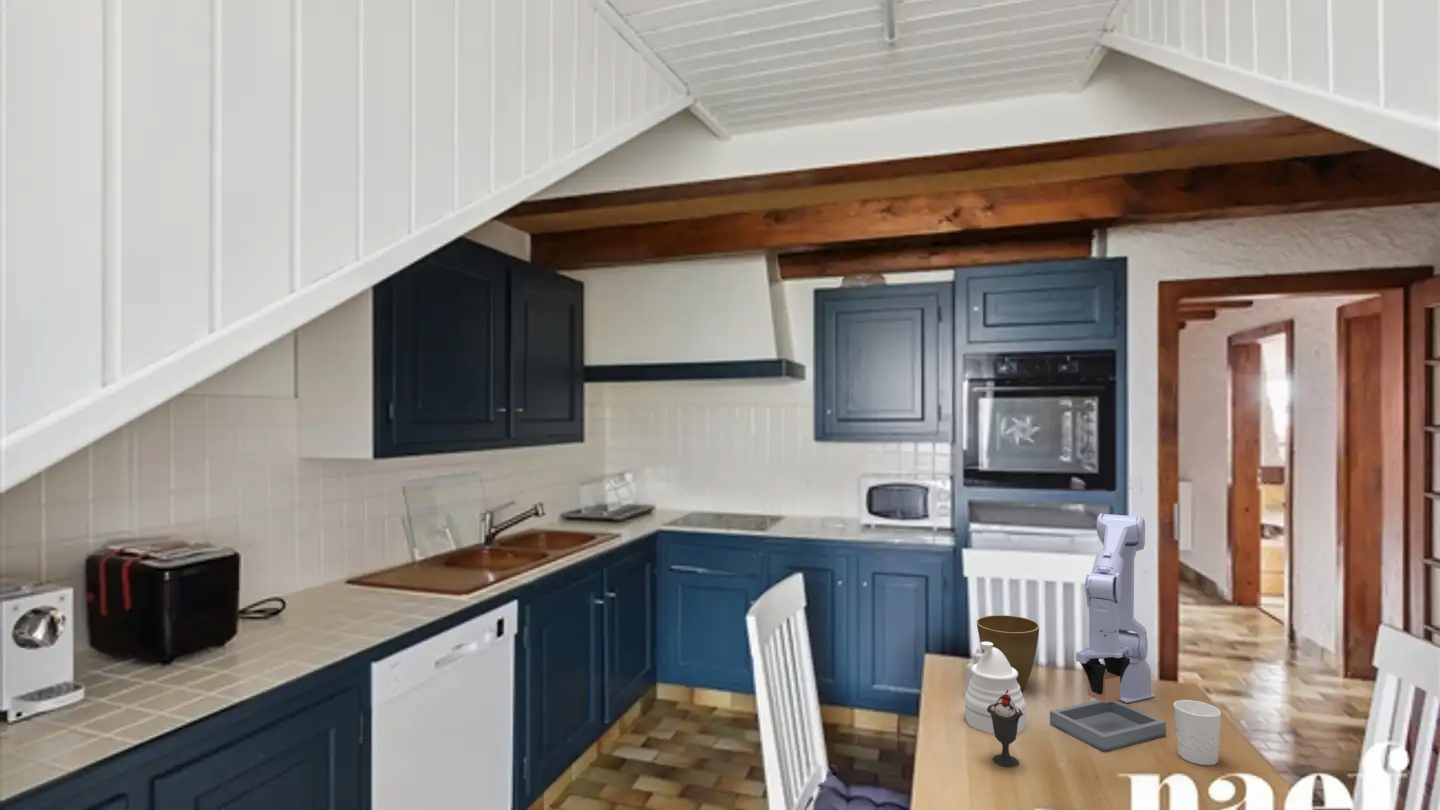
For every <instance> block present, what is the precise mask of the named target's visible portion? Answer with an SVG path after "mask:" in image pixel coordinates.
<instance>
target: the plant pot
mask: <svg viewBox="0 0 1440 810" xmlns="http://www.w3.org/2000/svg"><path fill="white" fill-rule="evenodd" d="M976 627H977V632H978V637H979V642H980V644H981V642H991V643H993V647H995V648H997V649H999V650H1000V651H1001V652H1002V653H1003V654H1004V655H1005V657H1006V658H1007V660H1008V662H1009V664H1010V666H1011V667H1012V668H1014V669H1015V670H1017V672H1018V677H1017V678H1016V680H1017V682H1018V684H1019V686H1020V690H1021V691H1023V690H1025V689H1026V687H1027V685H1028V682H1029V680H1030V679H1029V678H1030V676H1031V673H1032V670H1033V665H1034V662H1035V658H1036V654H1037V648H1038V643H1039V636H1040V635H1039V633H1040V624H1039V623H1038V622H1036V621H1035V620H1032V619H1029V618H1026V617H1023V616H1017V615H1007V614H1006V615H1004V614H1003V615H1002V614H998V615H995V614H993V615H987V616H982V617H979V618H978V619H976ZM980 647H981V652H982V654H983V653H984V652H985V651H984V650H983V649H982V646H981V645H980Z"/></svg>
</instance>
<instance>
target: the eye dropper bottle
mask: <svg viewBox="0 0 1440 810" xmlns="http://www.w3.org/2000/svg"><path fill="white" fill-rule="evenodd" d="M972 654H973V655H972V657H973V661H972V662H969V663H968V664H967V665H966V692H967V691H968V686H969V684H970V683H969V681H970V679H971V678H972V676H973V673H972V672H971V667H972V666H973V665H974V664H977V663H978V661H979V660H980V658H981V656H982V655H983V652H982V651H981V649H980V648H979V647H978V648H976V652H974V653H972Z"/></svg>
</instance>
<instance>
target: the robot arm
mask: <svg viewBox="0 0 1440 810" xmlns="http://www.w3.org/2000/svg"><path fill="white" fill-rule="evenodd" d="M1096 533H1097V536H1098V537H1099V538H1098V539H1099V540H1100V542H1101V543H1102V546H1103V548H1102V550H1101V551H1099V552H1098V553H1097V554H1096V556H1095V558H1094V563H1093V567H1092V570H1091V573H1090V574H1087V575H1086V576H1085V581H1084V592H1085V597H1086V605H1087V608H1088V620H1089V621H1088V626H1089V631H1088V632H1089V646H1087V647H1085V648H1083V649H1081V650H1078V651H1076V652H1075V661H1076V662H1078V663H1080V665H1081V666H1082V668H1083V670H1084V672H1085V674H1086V677H1087V681H1088V680H1089V683H1090V687H1091V690H1092V692H1094V693H1097V694H1099V695H1100V694H1102V690H1103V678H1104V673H1105V671H1107V672H1109V673H1112V674H1115V675H1117V676H1120V691H1121V700H1120V702H1124V704H1125V703H1126V704H1128V703H1129V704H1130V703H1134V702H1139V701H1144V700H1147V699H1152V698H1155V694H1154V693H1152V673H1151V672H1152V670H1151V667H1150V664H1149V663H1148V661H1147V660H1146V659H1147V658H1148V651H1149V650H1148V649H1149V647H1148V645H1149V644H1148V637H1147V632H1148V631H1147V630H1146V628H1145V626H1143V625H1142V624H1141V623H1140V622H1138V621H1137V620H1136V619H1135V618H1134V616H1135V615H1134V613H1135V611H1134V609H1135V608H1134V604H1135V599H1134V597H1135V557H1136V554H1137V552H1139V551H1142V550H1144V548H1145V545H1146V522H1145V519H1144V517H1143V516H1142V515H1138V516H1137V515H1125V514H1124V515H1122V514H1109V513H1108V514H1105V513H1103V512H1101V513H1099V515H1098V516H1097V519H1096ZM1102 659H1103V661H1104V663H1102V662H1101V661H1100V660H1102Z"/></svg>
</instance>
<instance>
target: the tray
mask: <svg viewBox="0 0 1440 810" xmlns="http://www.w3.org/2000/svg"><path fill="white" fill-rule="evenodd" d="M1049 724H1050V726H1052V727H1055V728H1056V729H1058V730H1061V731H1062V732H1064V733H1066V734H1067V735H1070V736H1071V737H1073V738H1076V739H1078V740H1080V741H1081V742H1083V743H1086V744H1087V745H1090V746H1092V747H1094V748H1095V749H1097V750H1099V751H1101V752H1104V753H1105V752H1106V753H1107V752H1110V751H1114V750H1118V749H1122V748H1125V746H1126V747H1129V745H1130V746H1132V745H1137V744H1141V743H1145V742H1148V740H1149V741H1152V739H1153V740H1155V738H1157V739H1160V738H1163V737H1162V736H1164V737H1166V736H1167V721H1164V720H1162V719H1160V718H1157V717H1155V716H1152V715H1150V714H1148V713H1146V712H1143V711H1141V710H1139V709H1136V708H1134V707H1131V706H1129V705H1127V704H1125V703H1122V702H1121V701H1120V702H1119V700H1117V701H1112V702H1108V703H1104V702H1102V701H1100V700H1097V699H1096V700H1093V701H1088V702H1085V703H1080V704H1076V705H1071V706H1067V707H1063V708H1057V709H1053V710H1049ZM1159 737H1160V738H1159ZM1144 741H1145V742H1144ZM1136 743H1137V744H1136Z"/></svg>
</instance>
